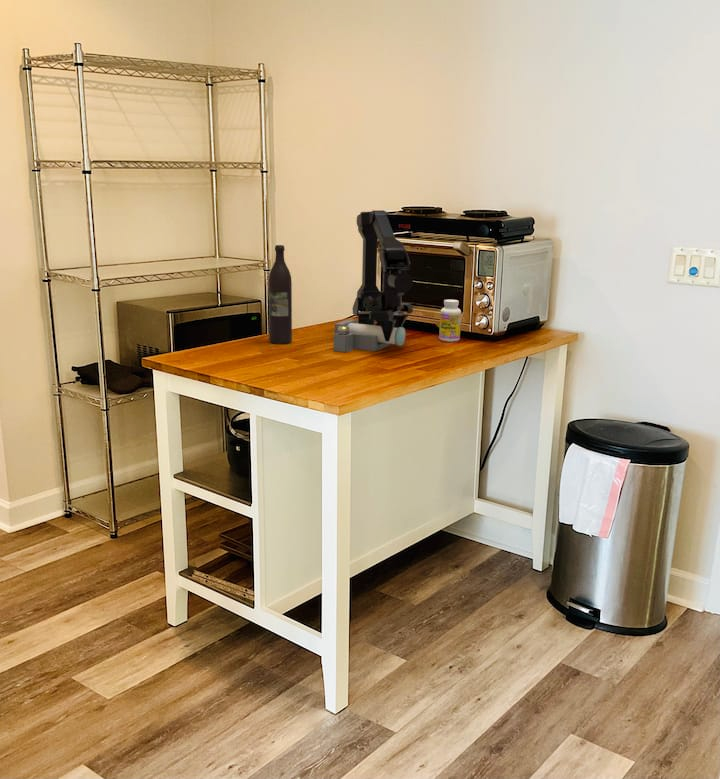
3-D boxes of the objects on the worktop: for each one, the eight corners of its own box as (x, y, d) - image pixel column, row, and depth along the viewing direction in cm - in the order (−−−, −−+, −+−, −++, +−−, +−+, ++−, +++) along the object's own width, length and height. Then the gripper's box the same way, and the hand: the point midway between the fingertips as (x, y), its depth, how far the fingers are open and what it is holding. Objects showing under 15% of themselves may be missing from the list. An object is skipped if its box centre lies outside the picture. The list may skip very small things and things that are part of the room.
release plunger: (341, 346, 246) (341, 325, 244) (350, 348, 245) (351, 326, 243) (335, 348, 243) (335, 327, 241) (345, 350, 242) (345, 328, 240)
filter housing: (349, 340, 258) (349, 319, 256) (389, 345, 252) (389, 323, 250) (325, 349, 244) (325, 326, 242) (366, 354, 238) (367, 331, 236)
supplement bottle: (436, 341, 260) (438, 301, 256) (442, 337, 266) (444, 298, 262) (456, 342, 257) (458, 302, 254) (462, 339, 263) (464, 299, 260)
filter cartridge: (354, 338, 254) (354, 320, 253) (405, 344, 247) (405, 326, 245) (345, 341, 249) (346, 323, 248) (397, 347, 242) (398, 328, 240)
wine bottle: (264, 342, 254) (263, 245, 246) (280, 338, 259) (280, 244, 251) (280, 345, 249) (279, 246, 242) (296, 342, 255) (296, 245, 247)
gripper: (381, 282, 253) (380, 332, 257) (353, 289, 237) (353, 342, 241) (414, 285, 248) (412, 335, 252) (388, 292, 232) (387, 346, 236)
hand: (391, 339), depth 245 cm, fingers closed on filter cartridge, 5 cm apart
